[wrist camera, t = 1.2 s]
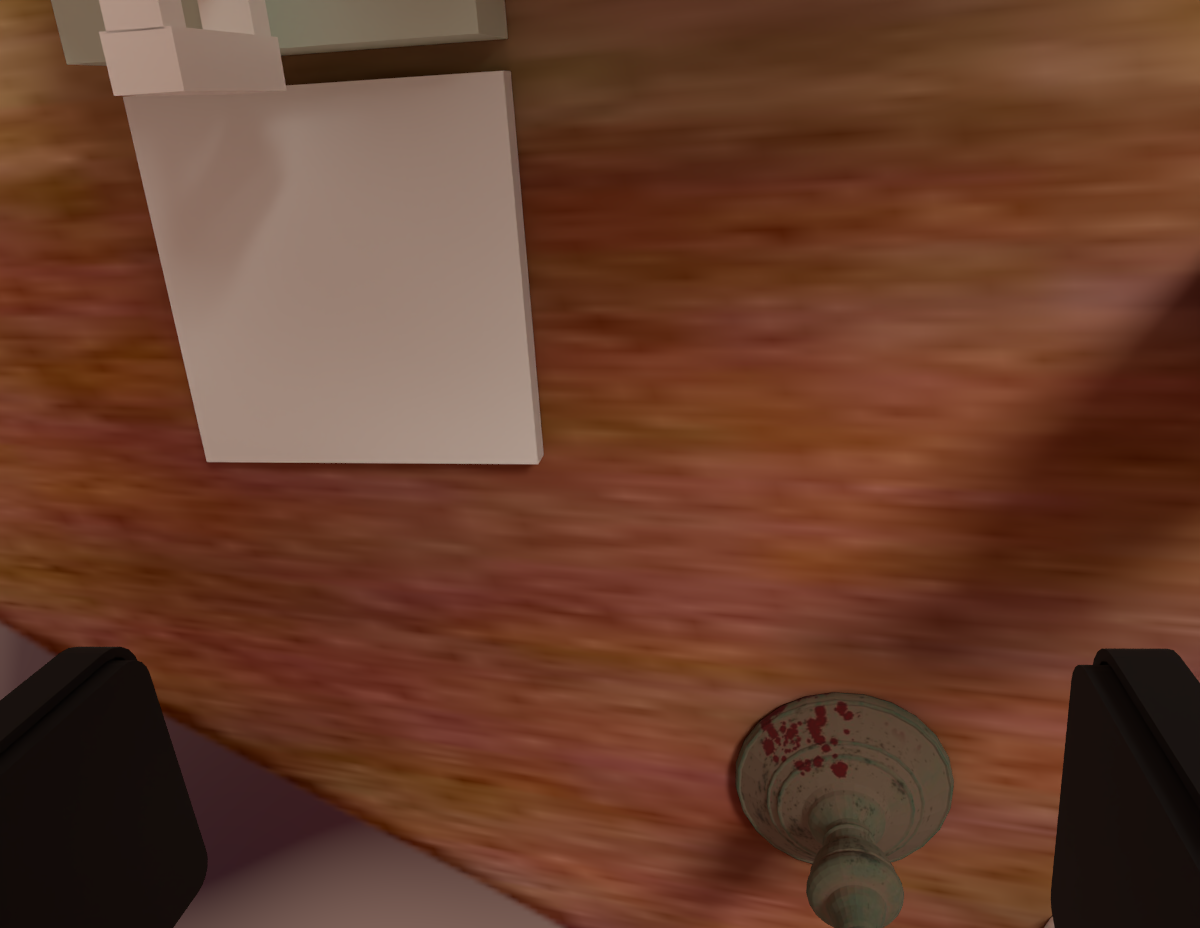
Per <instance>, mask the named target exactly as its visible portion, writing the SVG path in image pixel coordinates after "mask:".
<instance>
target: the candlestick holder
mask: <svg viewBox="0 0 1200 928" xmlns="http://www.w3.org/2000/svg"><path fill="white" fill-rule="evenodd" d="M953 784H954V780H953V775H952V770H951V766H950V761H949V757H948V755H947V753H946V752H945V750H944V748H943V747H942V745H941V743H940V741H939V740H938V738H937V736H936V735H935V734H934V733H933V732H932V731H931V730H930V729H929V728H928V727H927V726H926V725H925V724H924V723H923V722H921V721H920V720H919V719H918V718H917V717H916V716H915V715H913V714H911V713H909V712H907V711H906V710H904V709H902V708H900V707H899V706H897V705H895V704H893V703H891V702H888V701H884V700H881V699H878V698H874V697H871V696H867V695H864V694H850V693H836V692H834V693H827V694H820V695H813V696H806V697H803V698H801V699H798V700H796V701H793V702H791V703H788V704H785V705H783V706H780V707H779V708H777V709H776V710H775V711H773V712H772V713H770V714H769V715H768V716H766V717H765V718H763V719H762V720H761V721H759V723H758V724H757V725H756V726H755V728H754V729H753V730H752V731H751V733H750V734H749V735H748V737H747V738H746V739H745V741H744V743H743V745H742V748H741V751H740V753H739V756H738V759H737V761H736V789H737V792H738V796H739V799H740V802H741V806H742V809H743V812H744V813H745V815H746V816H747V818H748V819H749V821H750V822H751V824H752V825H753V827H754V828H755V830H756V831H757V832H758V833H759V834H760V835H762V836H763V837H764V838H765V839H766V840H767V841H768V842H769V843H771V844H772V845H773V846H774V847H775V848H777V849H779V850H781V851H783V852H785V853H786V854H788V855H790V856H792V857H794V858H796V859H798V860H801V861H804V862H808V863H811V864H812V867H811V872H810V875H809V877H808V881H807V890H806V893H807V897H808V901H809V904H810V906H811V907H812V909H813V911H814V912H815V914H816V915H817V916H818V917H819V918H821V919H822V920H823V921H824V922H825V923H827V924H829V925H830V926H832V927H834V928H883V927H885V926H887V925H888V924H890V923H891V922H892V921H893V920H894V919H895V918H896V917H897V916H898V914H899V912H900V910H901V908H902V906H903V899H904V891H903V887H902V883H901V881H900V879H899V877H898V876H897V874H896V872H895V870H894V867H893V866H892V864H891V862H894V861H897V860H900V859H903V858H904V857H906V856H908V855H909V854H911V853H913V852H914V851H916V850H918V849H920V848H921V847H923V846H924V845H925V844H926V843H927V842H928V841H929V840H930V839H931V838H932V837H933V836H934V835H935V834H936V833H937V832H938V831H939V830H940V828H941V826H942V824H943V822H944V820H945V818H946V816H947V814H948V812H949V810H950V808H951V801H952V794H953Z"/></svg>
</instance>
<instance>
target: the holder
mask: <svg viewBox="0 0 1200 928" xmlns="http://www.w3.org/2000/svg"><path fill="white" fill-rule="evenodd" d="M51 3H52V7H53V11H54V15H55V19H56V23H57V27H58V31H59V35H60V39H61V43H62V47H63V51H64V55H65V59H66V63H67V65H94V66H107V64H106V60H105V56H104V52H103V47H102V43H101V39H100V34H99V32H103V31H106V29H105V25H104V20H103V16H102V12H101V7H100V3H99V0H51ZM181 3H182V8H183V13H184V18H185V23H186V28H196V29H203V27H202V22H201V17H200V12H199V7H198V2H197V0H181ZM265 3H266V9H267V15H268V20H269V26H270V32H271V36H273V37H278V43H279V49H280V55H281V56H285V55H299V54H312V53H325V52H339V51H352V50H366V49H379V48H392V47H406V46H419V45H433V44H446V43H460V42H473V41H486V40H500V39H508V34H507V22H506V10H505V0H265Z"/></svg>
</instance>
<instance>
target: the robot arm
mask: <svg viewBox="0 0 1200 928" xmlns="http://www.w3.org/2000/svg"><path fill="white" fill-rule="evenodd" d="M207 860H208V859H207V852H206V849H205V846H204V842H203V839H202V836H201V833H200V830H199V827H198V824H197V820H196V818H195V814H194V811H193V808H192V805H191V801H190V799H189V795H188V792H187V789H186V786H185V783H184V780H183V776H182V773H181V770H180V767H179V764H178V761H177V758H176V755H175V751H174V748H173V745H172V742H171V739H170V736H169V733H168V729H167V726H166V723H165V720H164V717H163V714H162V711H161V707H160V704H159V701H158V698H157V695H156V692H155V689H154V685H153V682H152V679H151V676H150V673H149V671H148V669H147V667H146V666H145V665H144V664H143V663H142V662H139V661H137V659H136V657H135V655H134V654H133V653H132V652H131V651H129V650H128V649H125V648H122V647H73V648H68V649H66V650H64V651H63V652H61V653H59V654H58V655H57V656H56V657H54V658H53V659H52V660H51V661H49V662H48V663H47V664H46V665H44V666H43V667H42V668H41V669H39V670H38V671H37V672H35V673H34V674H33V675H32V676H30V677H29V678H28V679H27V680H26V681H24V682H23V683H22V684H20V685H19V686H18V687H17V688H15V689H14V690H13V691H12V692H11V693H9V694H8V695H7V696H5V697H4V698H3V699H2V700H0V928H173V927H174V926H175V924H176V923H177V922H178V920H179V919H180V917H181V916H182V914H183V913H184V911H185V910H186V909H187V907H188V906H189V904H190V903H191V902H192V900H193V899H194V897H195V896H196V895H197V893H198V891H199V890H200V888H201V886H202V884H203V881H204V878H205V876H206V871H207ZM1051 908H1052V916H1053V922H1054V926H1055V928H1200V683H1199V681H1198V680H1197V679H1196V677H1195V676H1194V675H1193V673H1192V672H1191V671H1190V669H1189V668H1188V667H1187V665H1186V664H1185V663H1184V661H1183V660H1182V659H1181V657H1180V656H1179V655H1178V654H1177V653H1176V652H1175V651H1174V650H1170V649H1101V650H1099V651H1098V652H1097V654H1096V656H1095V658H1094V662H1093V665H1078V666H1076V667H1075V669H1074V671H1073V675H1072V681H1071V691H1070V701H1069V712H1068V722H1067V732H1066V743H1065V753H1064V763H1063V773H1062V784H1061V794H1060V804H1059V815H1058V825H1057V835H1056V845H1055V856H1054V866H1053V876H1052V887H1051Z"/></svg>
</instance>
